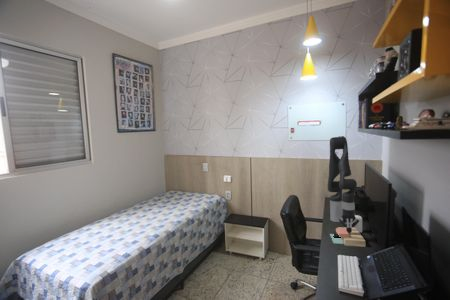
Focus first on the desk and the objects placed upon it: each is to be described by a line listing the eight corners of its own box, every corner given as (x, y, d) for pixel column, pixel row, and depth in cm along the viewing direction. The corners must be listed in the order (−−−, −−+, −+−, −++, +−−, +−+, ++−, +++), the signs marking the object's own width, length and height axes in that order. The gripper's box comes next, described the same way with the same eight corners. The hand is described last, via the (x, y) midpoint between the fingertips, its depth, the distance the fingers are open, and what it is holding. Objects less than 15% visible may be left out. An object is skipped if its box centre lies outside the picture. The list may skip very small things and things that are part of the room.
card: (335, 230, 161) (335, 228, 161) (345, 231, 160) (345, 228, 159) (339, 236, 152) (339, 233, 152) (348, 236, 151) (348, 234, 151)
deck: (337, 232, 167) (337, 227, 167) (355, 233, 164) (355, 227, 164) (344, 245, 148) (344, 239, 148) (365, 246, 145) (365, 240, 145)
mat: (329, 234, 165) (329, 233, 165) (338, 234, 163) (338, 234, 163) (333, 243, 152) (333, 243, 152) (343, 244, 150) (343, 243, 150)
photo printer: (360, 230, 168) (360, 214, 168) (363, 232, 164) (363, 216, 163) (346, 230, 170) (345, 214, 169) (348, 232, 166) (347, 216, 165)
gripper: (357, 206, 156) (357, 230, 157) (336, 206, 159) (337, 229, 160) (361, 210, 149) (361, 235, 150) (339, 209, 152) (339, 234, 153)
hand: (349, 232), depth 155 cm, fingers closed
